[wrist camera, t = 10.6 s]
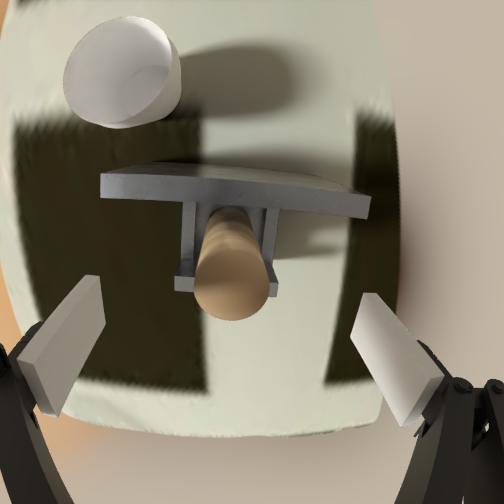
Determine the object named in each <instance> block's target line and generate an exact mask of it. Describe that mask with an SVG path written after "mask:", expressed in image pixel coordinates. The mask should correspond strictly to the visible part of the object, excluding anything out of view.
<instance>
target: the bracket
mask: <svg viewBox="0 0 504 504" xmlns="http://www.w3.org/2000/svg"><path fill="white" fill-rule="evenodd" d="M101 198H122V199H145V200H165V201H182V202H183V218H182V243H181V261H180V263H179V266H178V269H177V271H176V274H175V291H187V292H194V280H195V275H196V270H197V266H198V261H199V257H200V252H201V248H202V244H203V239H204V235H205V231H206V226H207V222H208V219H209V216H210V215H211V213H212V212H213V211H214V210H215V209H217V208H218V207H220V206H223V205H235V206H238V207H240V208H242V209H243V210H244V211H245V212H246V213H247V214H248V216H249V218H250V221H251V224H252V227H253V231H254V234H255V237H256V240H257V243H258V246H259V249H260V252H261V255H262V259H263V262H264V265H265V268H266V271H267V274H268V277H269V282H270V291H269V295H268V297H276V296H277V290H278V280H277V277H276V275H275V272H274V269H273V267H272V263H273V256H274V249H275V241H276V234H277V226H278V218H279V210H280V209H282V210H292V211H302V212H311V213H320V214H329V215H337V216H346V217H354V218H362V219H367V217H368V212H369V206H370V201H371V196H368V195H366V194H363V193H361V192H358V191H356V190H353V189H350V188H348V187H345V186H343V185H340V184H337V183H335V182H332V181H329V180H326V179H324V178H321V177H318V176H315V175H308V174H300V173H292V172H284V171H275V170H266V169H257V168H246V167H235V166H223V165H209V164H194V163H174V162H147V163H143V164H138V165H134V166H130V167H126V168H121V169H117V170H113V171H109V172H106V173H102V174H101Z"/></svg>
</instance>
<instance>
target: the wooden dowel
mask: <svg viewBox="0 0 504 504" xmlns="http://www.w3.org/2000/svg"><path fill="white" fill-rule="evenodd" d="M269 291H270V282H269V277H268V274H267V271H266V268H265V265H264V262H263V259H262V255H261V252H260V249H259V246H258V243H257V240H256V237H255V234H254V231H253V227H252V224H251V221H250V218H249V216H248V214H247V213H246V212H245V211H244V210H243V209H242V208H240V207H238V206H235V205H223V206H220V207H218V208H217V209H215V210H214V211H213V212H212V213H211V215H210V216H209V219H208V222H207V226H206V231H205V235H204V239H203V244H202V248H201V252H200V257H199V261H198V266H197V270H196V275H195V280H194V294H195V297H196V300H197V301H198V303H199V305H200V306H201V307H202V308H203V310H205V311H206V312H207V313H208V314H210V315H211V316H214V317H216V318H218V319H222V320H228V321H235V320H241V319H245V318H247V317H250V316H252V315H253V314H255V313H256V312H257V311H259V310H260V309H261V308H262V306H263V305H264V304H265V302H266V300H267V298H268V295H269Z"/></svg>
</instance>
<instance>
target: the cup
mask: <svg viewBox="0 0 504 504" xmlns="http://www.w3.org/2000/svg"><path fill="white" fill-rule="evenodd" d="M63 88H64V94H65V97H66V100H67V102H68V104H69V106H70V107H71V109H72V110H73V111H74V112H75V113H76V114H77V115H78V116H79V117H81V118H82V119H84V120H86V121H89V122H92V123H96V124H99V125H102V126H105V127H109V128H128V127H133V126H137V125H141V124H145V123H149V122H153V121H157V120H160V119H162V118H164V117H166V116H167V115H169V114H170V113H171V112H172V111H173V110H174V109H175V107H176V106H177V104H178V102H179V100H180V97H181V91H182V89H181V65H180V58H179V55H178V52H177V49H176V47H175V46H174V44H173V43H172V41H171V40H170V39H169V38H168V37H167V36H166V34H165V33H164V32H163V31H162V29H161V28H160V27H158V26H157V25H156V24H154V23H153V22H151V21H149V20H147V19H144V18H140V17H120V18H116V19H112V20H109V21H107V22H104V23H102V24H100V25H99V26H97V27H95V28H94V29H92V30H91V31H90V32H89V33H87V34H86V35H85V36H84V37H83V38H82V39H81V40H80V41H79V43H78V44H77V45H76V47H75V48H74V50H73V51H72V53H71V55H70V57H69V59H68V61H67V64H66V67H65V71H64V77H63Z"/></svg>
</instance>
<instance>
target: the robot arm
mask: <svg viewBox="0 0 504 504" xmlns="http://www.w3.org/2000/svg"><path fill="white" fill-rule="evenodd" d="M105 324H106V322H105V316H104V309H103V302H102V295H101V287H100V278H99V276H92V275H85V276H84V277H83V278H82V280H81V281H80V282H79V283H78V284H77V285H76V286H75V287H74V289H73V290H72V291H71V292H70V293H69V294H68V295H67V297H66V298H65V299H64V300H63V301H62V302H61V304H60V305H59V306H58V307H57V308H56V309H55V311H54V312H53V313H52V314H51V315H50V317H49V318H48V319H47V320H46V322H41V321H39V322H38V323H36V324H35V325H33V326H31V327H30V329H29V330H28V331H27V332H26V333H25V336H23V337H22V338H21V340H20V341H19V342H18V343H17V345H16V346H15V347H14V348H13V350H12V351H11V352H10V354H9V355H8V356H7V354H6V351H5V349H4V346H3V345H2V344H1V343H0V470H1V473H2V476H3V480H4V482H5V486H6V488H7V492H8V494H9V497H10V500H11V503H12V504H74V503H73V500H72V499H71V497H70V495H69V493H68V491H67V489H66V487H65V485H64V483H63V481H62V479H61V477H60V475H59V473H58V471H57V469H56V466H55V464H54V462H53V460H52V457H51V455H50V453H49V450H48V448H47V445H46V443H45V441H44V438H43V435H42V432H41V430H40V427H39V424H38V421H37V418H36V415H35V413H34V412H33V409H34V407H35V405H36V403H37V405H38V407H39V409H40V411H41V413H42V414H46V415H49V416H52V417H55V418H58V416H59V414H60V412H61V410H62V408H63V406H64V403H65V401H66V399H67V397H68V395H69V393H70V391H71V389H72V387H73V385H74V383H75V381H76V379H77V377H78V375H79V373H80V371H81V369H82V367H83V365H84V363H85V361H86V359H87V357H88V355H89V353H90V352H91V350H92V348H93V346H94V344H95V342H96V340H97V339H98V337H99V335H100V333H101V331H102V330H103V328H104V326H105ZM350 337H351V339H352V341H353V343H354V344H355V346H356V348H357V350H358V351H359V353H360V355H361V357H362V358H363V360H364V362H365V364H366V365H367V367H368V369H369V371H370V372H371V374H372V376H373V378H374V380H375V381H376V383H377V385H378V387H379V388H380V390H381V392H382V394H383V396H384V398H385V399H386V401H387V403H388V405H389V407H390V408H391V410H392V412H393V414H394V416H395V418H396V419H397V422H398V423H399V425H400V427H404V426H408V425H412V424H415V423H416V421H417V420H418V418H419V417H420V415H421V414H422V415H423V417H424V419H425V420H424V422H423V423H422V425H421V426H420V427H419V429H418V430H417V432H416V433H415V435H414V437H416V436H417V435H418V434H419V435H418V439H417V442H416V446H415V449H414V452H413V455H412V458H411V461H410V464H409V467H408V470H407V473H406V475H405V478H404V481H403V483H402V486H401V488H400V491H399V493H398V496H397V498H396V501H395V503H394V504H462V500H463V495H464V504H504V383H503V382H502V381H500V380H496V379H490V380H488V381H487V383H486V384H485V386H484V388H474V387H473V386H472V384H471V383H470V382H468V381H467V380H465V379H463V378H459V377H454V378H453V377H452V376H451V374H450V373H449V372H448V371H447V370H446V368H445V367H444V366H443V365H442V363H441V362H440V361H439V360H437V357H436V356H435V355H434V354H433V352H432V351H431V350H430V349H429V347H428V346H427V345H425V344H424V343H422V342H421V341H419V340H416V339H415V338H414V337H413V336H412V335H411V333H410V332H409V331H408V330H407V329H406V327H405V326H404V325H403V324H402V323H401V322H400V320H399V319H398V318H397V317H396V316H395V314H394V313H393V312H392V311H391V310H390V309H389V308H388V306H387V305H386V304H385V303H384V302H383V301H382V300H381V298H380V297H379V296H378V295H377V294H376V293H363V296H362V300H361V303H360V307H359V310H358V314H357V317H356V320H355V323H354V327H353V330H352V333H351V336H350ZM488 423H489V429H488V431H487V432H486V430H485V426H486V425H487V424H488Z"/></svg>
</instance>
